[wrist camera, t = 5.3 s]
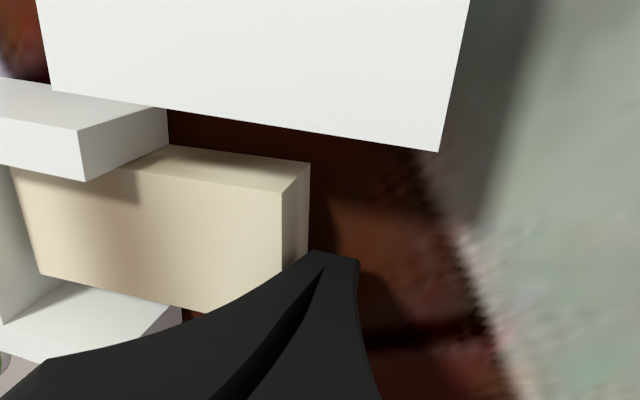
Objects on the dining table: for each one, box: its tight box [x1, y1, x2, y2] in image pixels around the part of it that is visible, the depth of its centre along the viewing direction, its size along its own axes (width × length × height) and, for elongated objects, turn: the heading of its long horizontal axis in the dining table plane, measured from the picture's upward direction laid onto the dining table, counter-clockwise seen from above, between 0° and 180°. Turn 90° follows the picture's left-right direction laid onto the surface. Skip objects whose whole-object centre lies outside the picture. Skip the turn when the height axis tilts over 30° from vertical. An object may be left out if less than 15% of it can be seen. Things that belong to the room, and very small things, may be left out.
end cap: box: [0, 77, 182, 364], centre depth 13 cm, size 6×8×3 cm
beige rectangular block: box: [9, 144, 310, 313], centre depth 12 cm, size 8×4×2 cm, turn 87°
